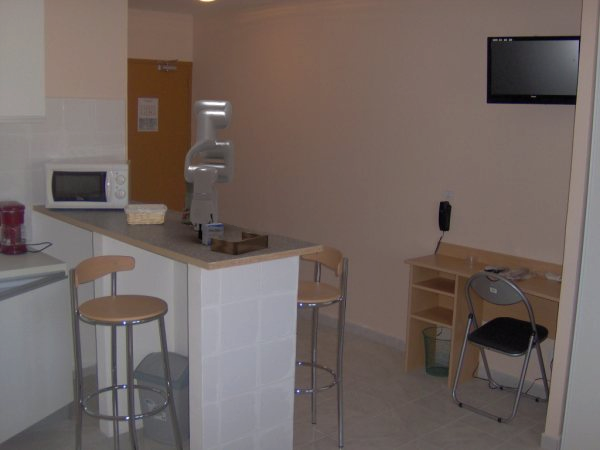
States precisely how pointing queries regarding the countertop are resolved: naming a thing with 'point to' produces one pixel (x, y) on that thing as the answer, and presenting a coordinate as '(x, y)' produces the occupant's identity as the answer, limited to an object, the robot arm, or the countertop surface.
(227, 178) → the robot arm
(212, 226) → the medicine box
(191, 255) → the countertop surface
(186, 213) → the bottle
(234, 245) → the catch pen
